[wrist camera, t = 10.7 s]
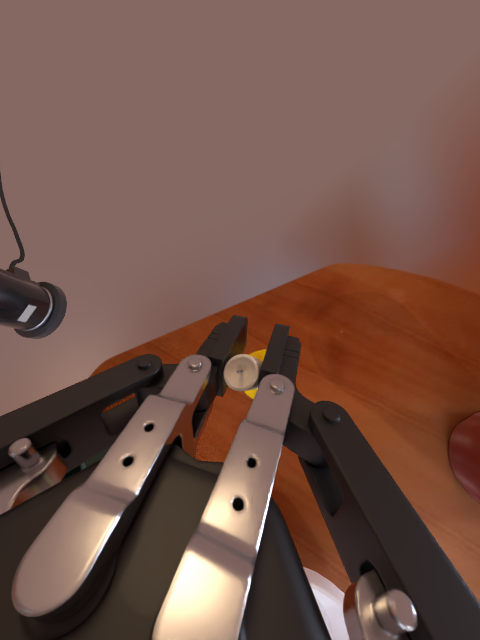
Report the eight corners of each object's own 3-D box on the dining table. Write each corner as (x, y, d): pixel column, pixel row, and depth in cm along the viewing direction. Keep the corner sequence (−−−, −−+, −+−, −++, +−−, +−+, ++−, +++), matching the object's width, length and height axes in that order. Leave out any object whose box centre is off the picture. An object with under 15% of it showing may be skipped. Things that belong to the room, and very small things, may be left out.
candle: (233, 366, 25) (152, 349, 10) (276, 339, 25) (260, 280, 10) (259, 414, 23) (211, 477, 8) (306, 385, 23) (341, 399, 8)
